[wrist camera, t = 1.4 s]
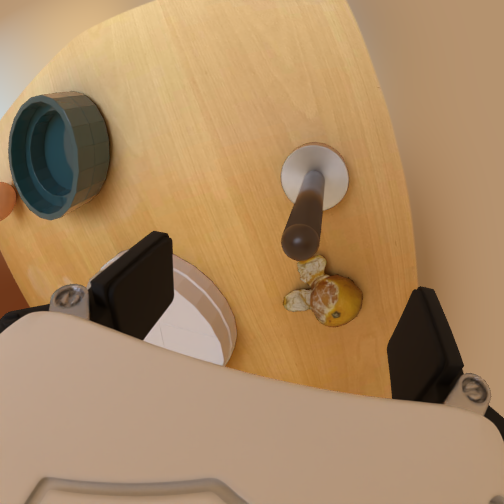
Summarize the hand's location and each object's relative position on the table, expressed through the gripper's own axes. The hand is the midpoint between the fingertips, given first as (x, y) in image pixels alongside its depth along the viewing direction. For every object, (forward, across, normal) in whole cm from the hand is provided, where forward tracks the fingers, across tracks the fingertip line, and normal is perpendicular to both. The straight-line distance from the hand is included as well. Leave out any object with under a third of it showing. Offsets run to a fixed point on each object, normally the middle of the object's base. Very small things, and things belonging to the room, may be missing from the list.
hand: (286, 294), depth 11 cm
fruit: (+20, -3, +11) cm, 23 cm away
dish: (+20, +17, +22) cm, 34 cm away
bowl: (+19, +31, -1) cm, 36 cm away
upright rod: (+19, 0, -1) cm, 19 cm away
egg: (+20, +49, +7) cm, 53 cm away
